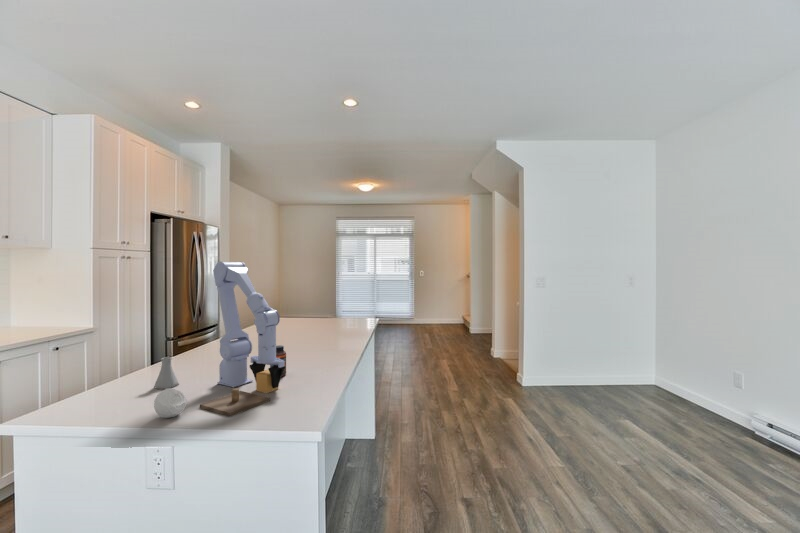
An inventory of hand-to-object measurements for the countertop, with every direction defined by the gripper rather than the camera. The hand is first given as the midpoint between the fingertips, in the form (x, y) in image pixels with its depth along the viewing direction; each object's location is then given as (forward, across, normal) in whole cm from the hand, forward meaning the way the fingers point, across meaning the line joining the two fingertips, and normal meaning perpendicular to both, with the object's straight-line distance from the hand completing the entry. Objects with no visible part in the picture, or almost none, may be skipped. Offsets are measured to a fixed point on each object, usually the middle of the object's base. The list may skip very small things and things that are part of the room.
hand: (267, 385), depth 127 cm
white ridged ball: (+2, -6, -29) cm, 30 cm away
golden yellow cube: (+1, 0, 0) cm, 1 cm away
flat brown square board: (+1, +2, -14) cm, 14 cm away
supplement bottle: (+2, -10, +14) cm, 17 cm away
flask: (+2, -35, -14) cm, 38 cm away
